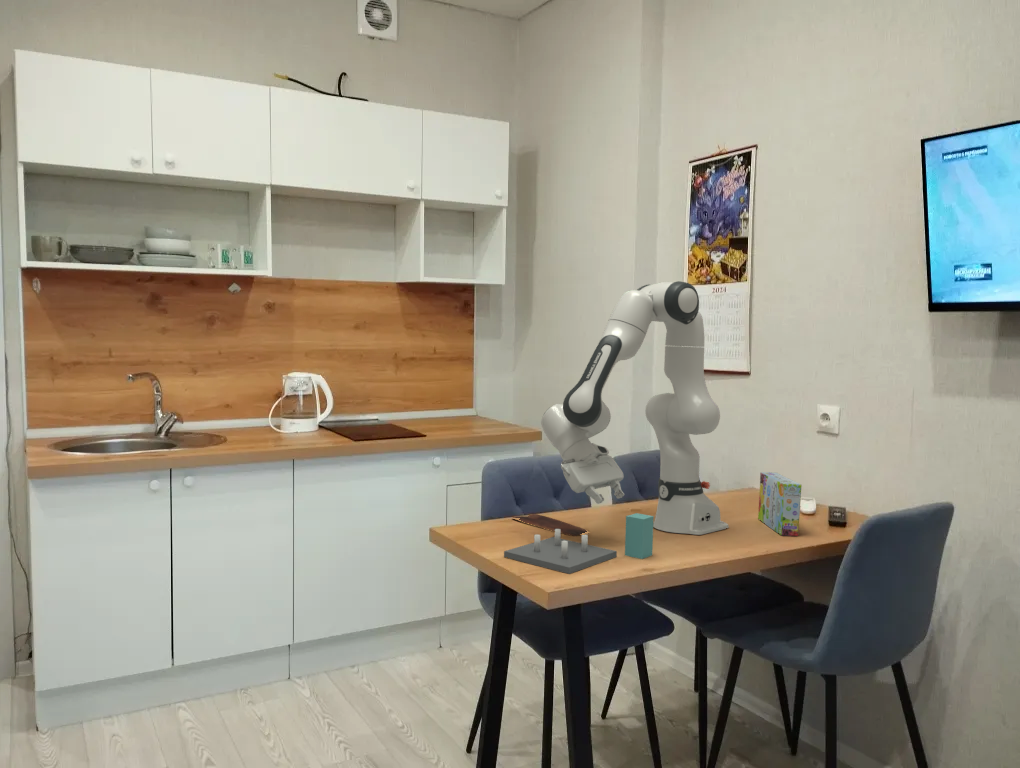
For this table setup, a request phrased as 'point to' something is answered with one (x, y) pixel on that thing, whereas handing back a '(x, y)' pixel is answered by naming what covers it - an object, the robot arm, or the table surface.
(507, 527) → the table surface
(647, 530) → the teal post
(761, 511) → the snack box
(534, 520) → the wooden tablet
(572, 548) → the peg board
